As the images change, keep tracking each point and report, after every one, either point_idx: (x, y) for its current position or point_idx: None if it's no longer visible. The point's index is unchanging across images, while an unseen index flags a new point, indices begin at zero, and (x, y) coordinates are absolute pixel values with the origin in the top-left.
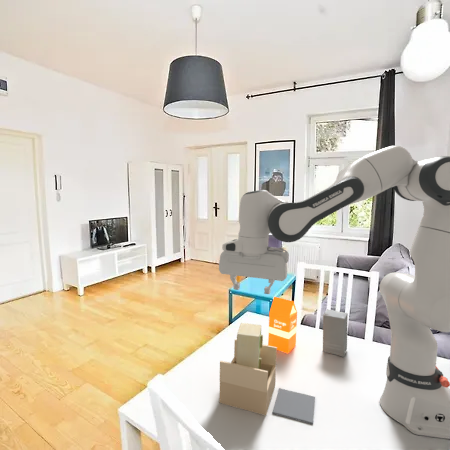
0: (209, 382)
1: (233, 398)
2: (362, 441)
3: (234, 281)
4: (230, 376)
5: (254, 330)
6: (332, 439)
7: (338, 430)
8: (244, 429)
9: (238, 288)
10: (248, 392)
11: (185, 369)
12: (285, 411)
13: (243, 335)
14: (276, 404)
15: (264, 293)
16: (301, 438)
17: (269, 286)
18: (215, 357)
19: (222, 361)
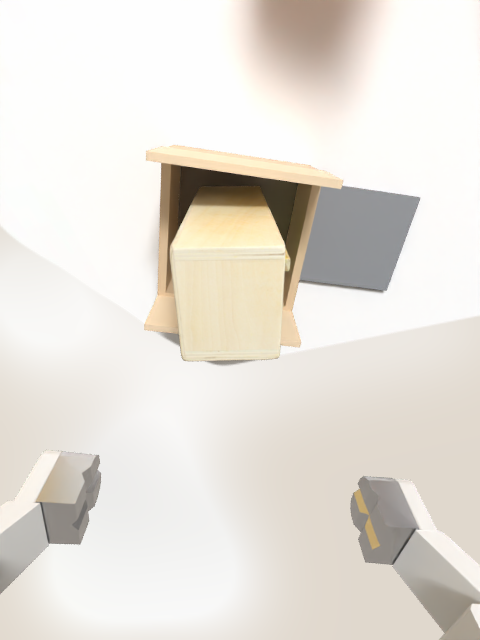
0: (112, 199)
1: None
2: (472, 309)
3: (17, 572)
4: None
5: (254, 314)
6: (413, 317)
7: (435, 292)
8: None
9: (96, 490)
10: None
11: (4, 149)
12: (329, 271)
13: (210, 359)
14: (309, 253)
15: (351, 504)
16: (352, 327)
17: (424, 595)
18: (63, 23)
19: (152, 327)
